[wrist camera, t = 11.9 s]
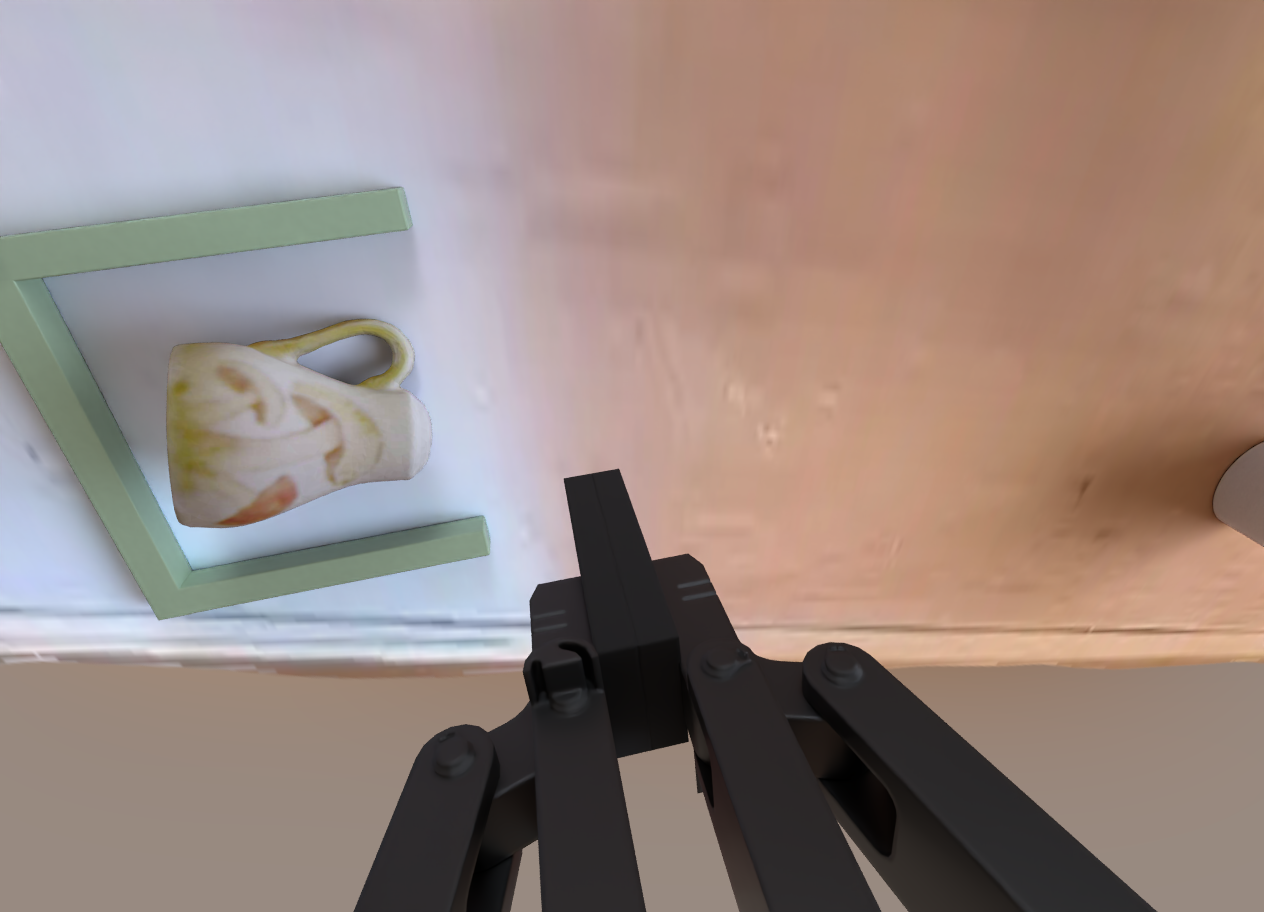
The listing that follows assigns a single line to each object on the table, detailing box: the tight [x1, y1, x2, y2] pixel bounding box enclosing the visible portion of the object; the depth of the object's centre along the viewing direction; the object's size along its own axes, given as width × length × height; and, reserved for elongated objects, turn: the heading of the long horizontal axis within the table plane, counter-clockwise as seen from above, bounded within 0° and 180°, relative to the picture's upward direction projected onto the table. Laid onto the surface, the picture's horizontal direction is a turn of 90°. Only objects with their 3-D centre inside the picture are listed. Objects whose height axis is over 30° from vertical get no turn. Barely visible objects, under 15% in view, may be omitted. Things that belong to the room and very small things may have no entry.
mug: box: [166, 319, 432, 528], centre depth 26 cm, size 8×10×10 cm
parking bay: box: [0, 187, 490, 620], centre depth 27 cm, size 16×17×2 cm
